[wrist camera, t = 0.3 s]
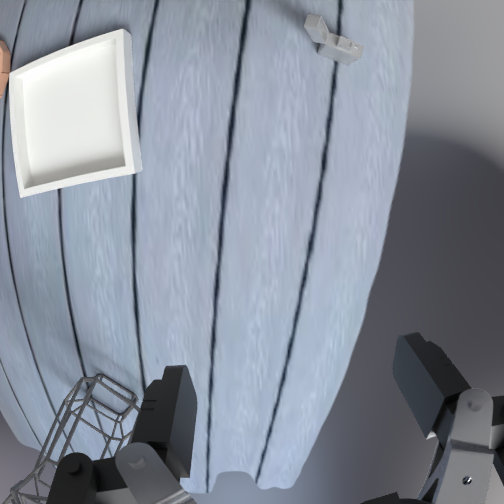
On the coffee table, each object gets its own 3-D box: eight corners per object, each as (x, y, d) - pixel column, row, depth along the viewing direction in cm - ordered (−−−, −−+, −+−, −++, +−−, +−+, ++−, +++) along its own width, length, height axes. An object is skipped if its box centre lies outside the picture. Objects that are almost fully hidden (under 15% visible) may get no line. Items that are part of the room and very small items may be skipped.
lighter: (352, 54, 32) (376, 37, 24) (348, 66, 33) (372, 51, 25) (297, 34, 31) (309, 10, 24) (293, 45, 32) (304, 24, 24)
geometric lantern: (64, 388, 50) (-11, 529, 17) (93, 345, 46) (-5, 522, 13) (129, 432, 53) (87, 580, 20) (170, 398, 50) (129, 586, 17)
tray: (21, 75, 31) (9, 73, 28) (131, 35, 30) (123, 28, 28) (32, 193, 37) (20, 197, 34) (142, 170, 37) (134, 173, 34)
